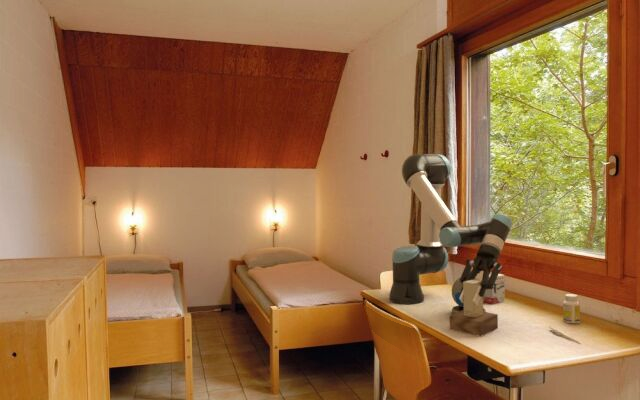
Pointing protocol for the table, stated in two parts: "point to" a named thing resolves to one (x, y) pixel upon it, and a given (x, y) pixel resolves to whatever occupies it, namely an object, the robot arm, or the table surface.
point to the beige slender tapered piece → (563, 334)
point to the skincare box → (468, 295)
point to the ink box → (496, 291)
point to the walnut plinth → (474, 323)
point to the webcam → (456, 295)
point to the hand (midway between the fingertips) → (468, 301)
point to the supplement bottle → (571, 309)
